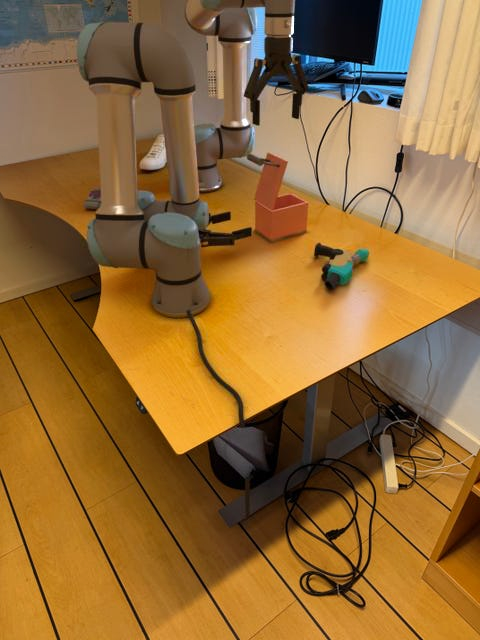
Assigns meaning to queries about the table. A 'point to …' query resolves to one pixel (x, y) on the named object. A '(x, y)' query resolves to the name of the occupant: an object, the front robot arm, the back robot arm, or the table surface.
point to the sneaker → (155, 155)
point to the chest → (281, 218)
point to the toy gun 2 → (339, 264)
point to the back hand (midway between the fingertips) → (276, 121)
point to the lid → (269, 178)
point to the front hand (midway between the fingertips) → (240, 223)
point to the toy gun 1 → (93, 200)
